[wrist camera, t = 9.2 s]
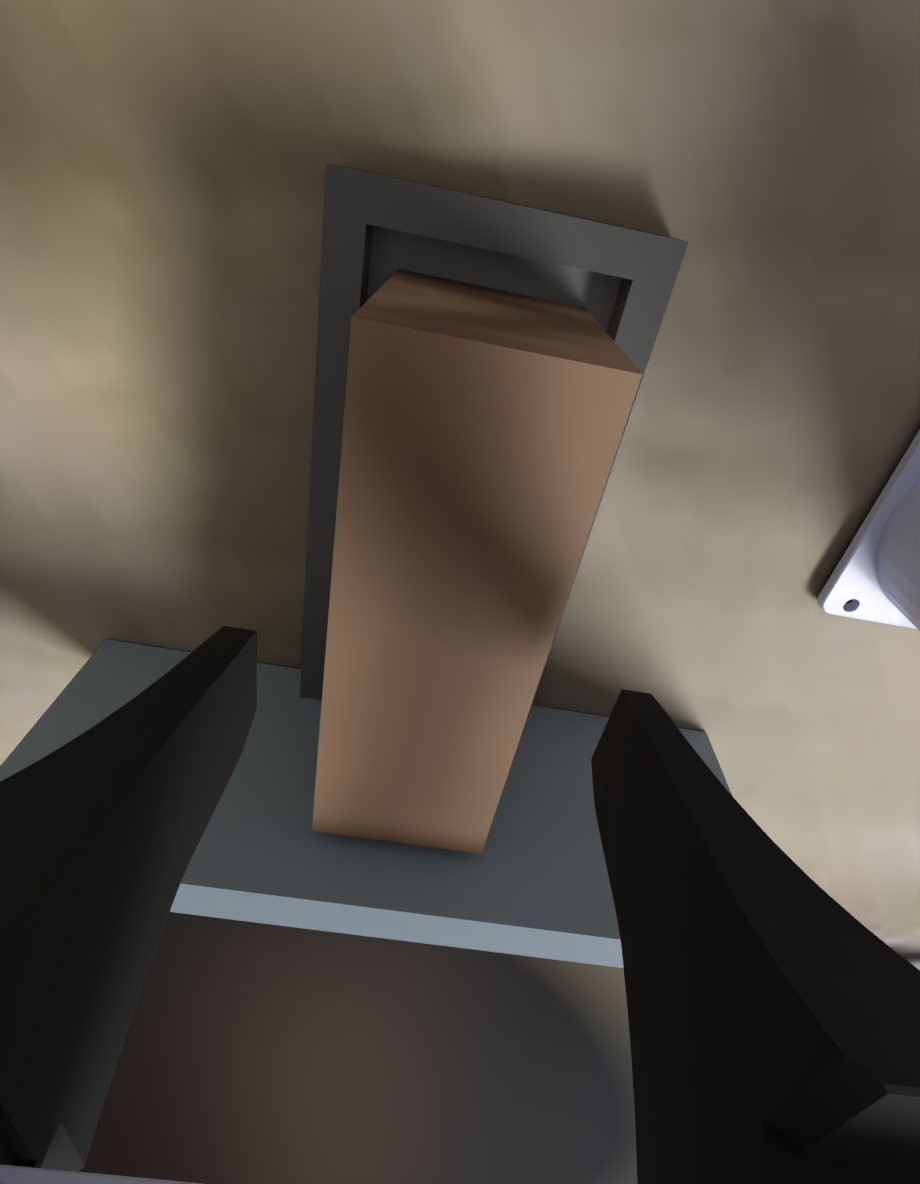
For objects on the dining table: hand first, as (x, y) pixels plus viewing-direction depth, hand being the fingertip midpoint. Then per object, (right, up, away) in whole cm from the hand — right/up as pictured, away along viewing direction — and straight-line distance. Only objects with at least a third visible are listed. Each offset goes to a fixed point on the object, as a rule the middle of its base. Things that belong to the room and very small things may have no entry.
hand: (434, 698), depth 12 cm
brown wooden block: (0, +4, +8) cm, 9 cm away
